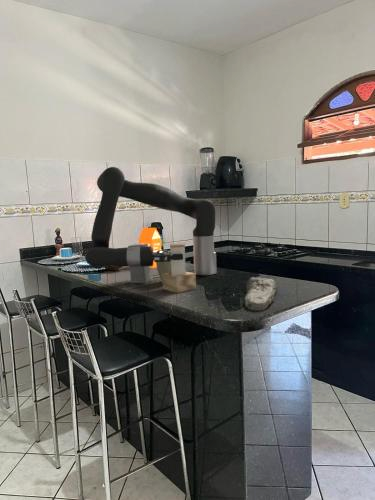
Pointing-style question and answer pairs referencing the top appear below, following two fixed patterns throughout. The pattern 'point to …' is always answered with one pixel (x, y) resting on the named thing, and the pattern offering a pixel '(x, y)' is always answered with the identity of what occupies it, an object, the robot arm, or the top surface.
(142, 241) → the orange juice
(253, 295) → the long grey stone
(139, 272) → the skincare box
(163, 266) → the mug
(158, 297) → the top surface
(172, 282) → the oak block
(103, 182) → the robot arm
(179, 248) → the canister
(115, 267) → the potato
